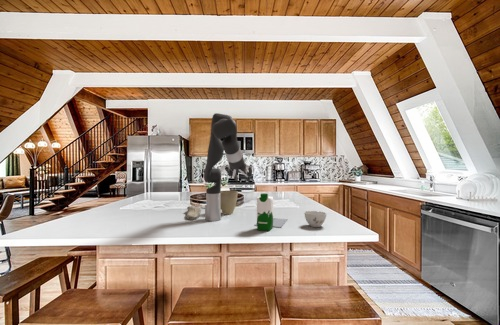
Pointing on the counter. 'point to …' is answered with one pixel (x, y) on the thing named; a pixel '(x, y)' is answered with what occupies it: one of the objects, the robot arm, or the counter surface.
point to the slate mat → (277, 222)
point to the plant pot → (228, 201)
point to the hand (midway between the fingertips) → (242, 180)
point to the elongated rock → (193, 213)
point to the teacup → (315, 218)
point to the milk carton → (264, 212)
